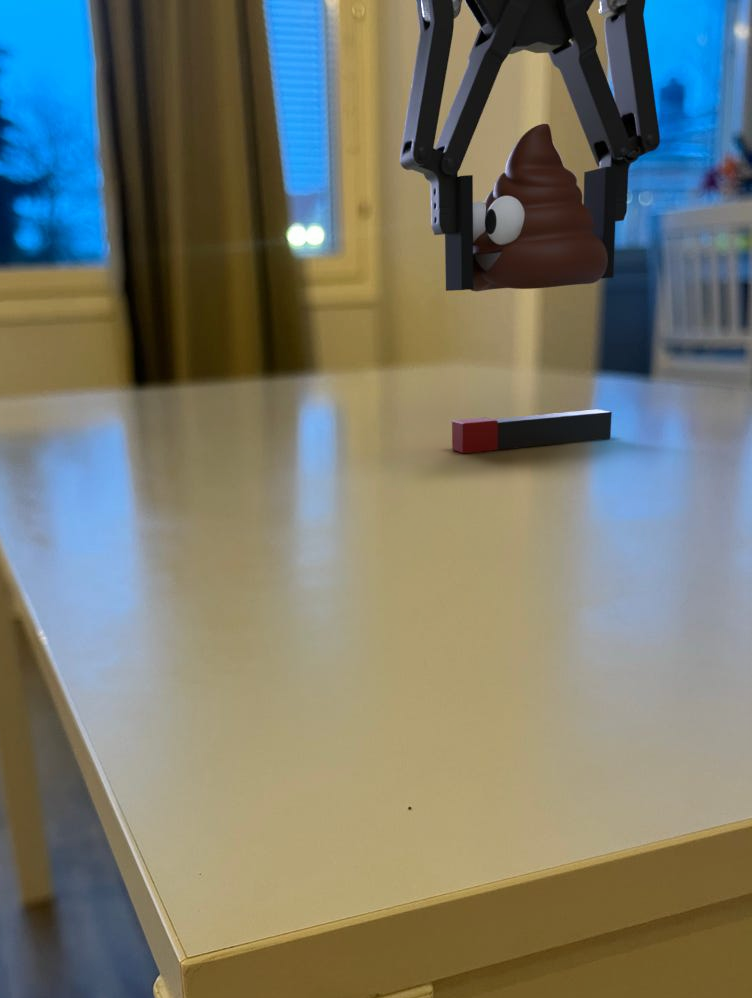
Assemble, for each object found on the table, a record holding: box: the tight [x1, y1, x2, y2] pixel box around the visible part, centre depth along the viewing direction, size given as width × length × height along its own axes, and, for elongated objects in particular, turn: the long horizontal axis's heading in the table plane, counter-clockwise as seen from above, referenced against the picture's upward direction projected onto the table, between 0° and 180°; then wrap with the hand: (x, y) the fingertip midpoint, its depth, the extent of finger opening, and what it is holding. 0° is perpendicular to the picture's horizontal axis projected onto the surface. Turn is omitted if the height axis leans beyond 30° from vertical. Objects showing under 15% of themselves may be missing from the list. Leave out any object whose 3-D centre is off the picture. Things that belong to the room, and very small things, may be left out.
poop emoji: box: [469, 123, 608, 292], centre depth 62 cm, size 10×8×9 cm
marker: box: [451, 409, 613, 454], centre depth 81 cm, size 13×2×2 cm, turn 102°
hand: (529, 283), depth 64 cm, fingers closed on poop emoji, 9 cm apart
